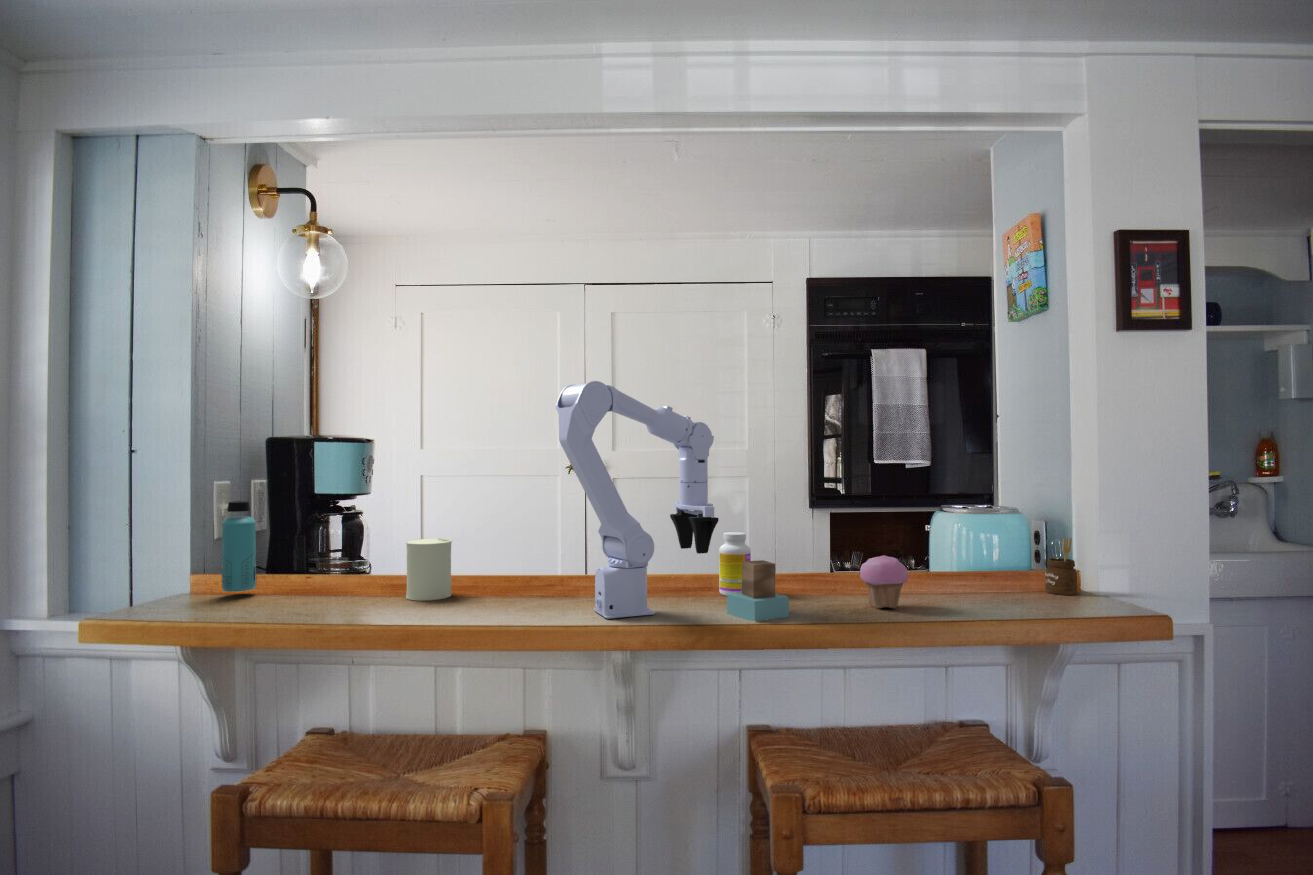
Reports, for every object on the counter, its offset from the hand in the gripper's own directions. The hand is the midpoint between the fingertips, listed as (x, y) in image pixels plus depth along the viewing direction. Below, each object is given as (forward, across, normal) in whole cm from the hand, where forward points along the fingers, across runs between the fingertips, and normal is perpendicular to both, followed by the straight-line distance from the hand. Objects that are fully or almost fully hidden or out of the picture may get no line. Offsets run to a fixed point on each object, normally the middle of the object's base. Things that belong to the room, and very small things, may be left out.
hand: (693, 550), depth 146 cm
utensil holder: (+11, -21, -76) cm, 79 cm away
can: (+10, +28, +48) cm, 57 cm away
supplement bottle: (+11, +5, -12) cm, 17 cm away
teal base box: (+11, -14, -6) cm, 19 cm away
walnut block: (+7, -14, -6) cm, 17 cm away
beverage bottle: (+10, +44, +85) cm, 96 cm away
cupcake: (+11, -18, -32) cm, 38 cm away
